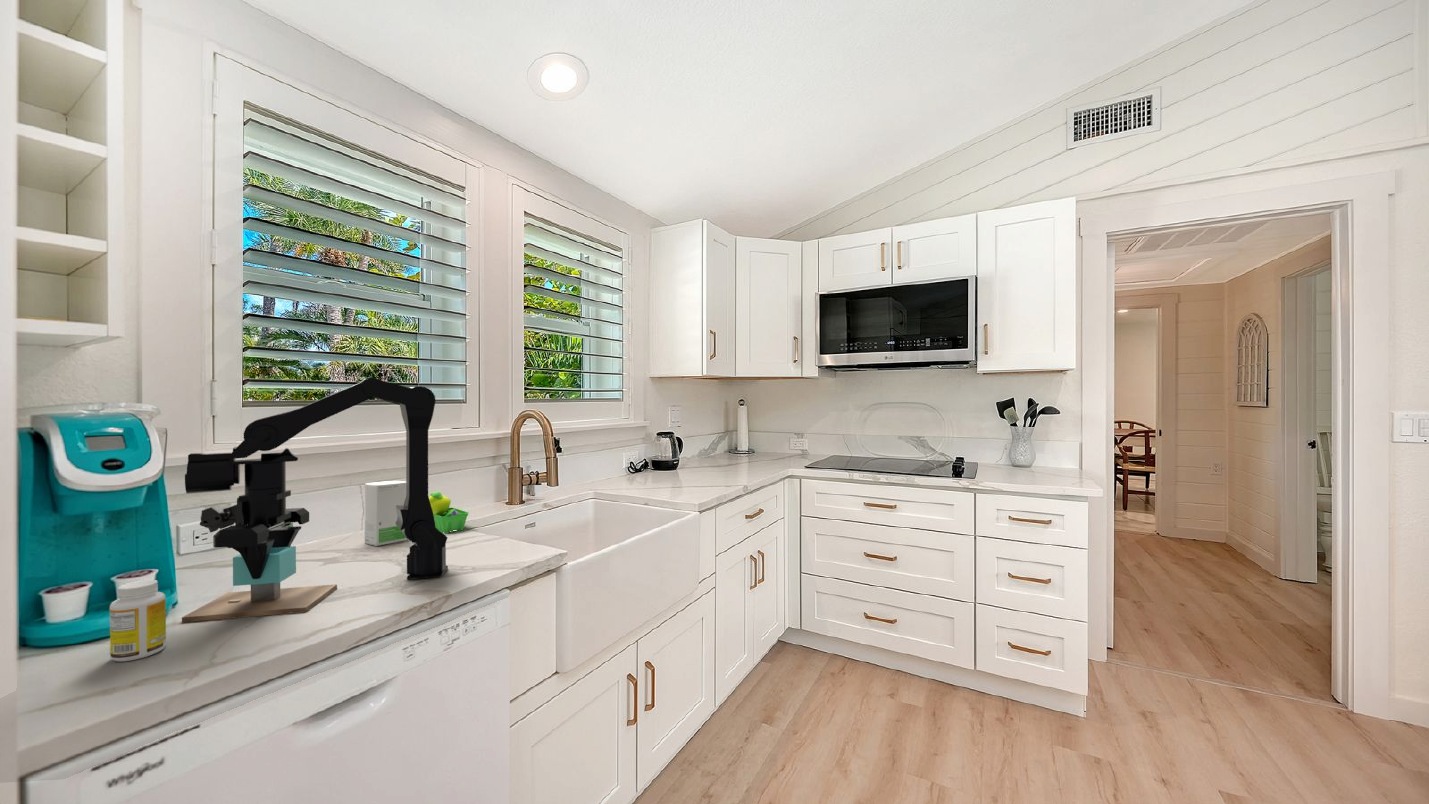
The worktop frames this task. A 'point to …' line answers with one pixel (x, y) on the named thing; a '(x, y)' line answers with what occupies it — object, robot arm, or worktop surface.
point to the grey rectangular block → (265, 592)
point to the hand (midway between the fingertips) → (266, 573)
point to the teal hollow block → (267, 567)
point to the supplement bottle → (137, 621)
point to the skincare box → (383, 512)
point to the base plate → (261, 603)
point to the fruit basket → (446, 514)
